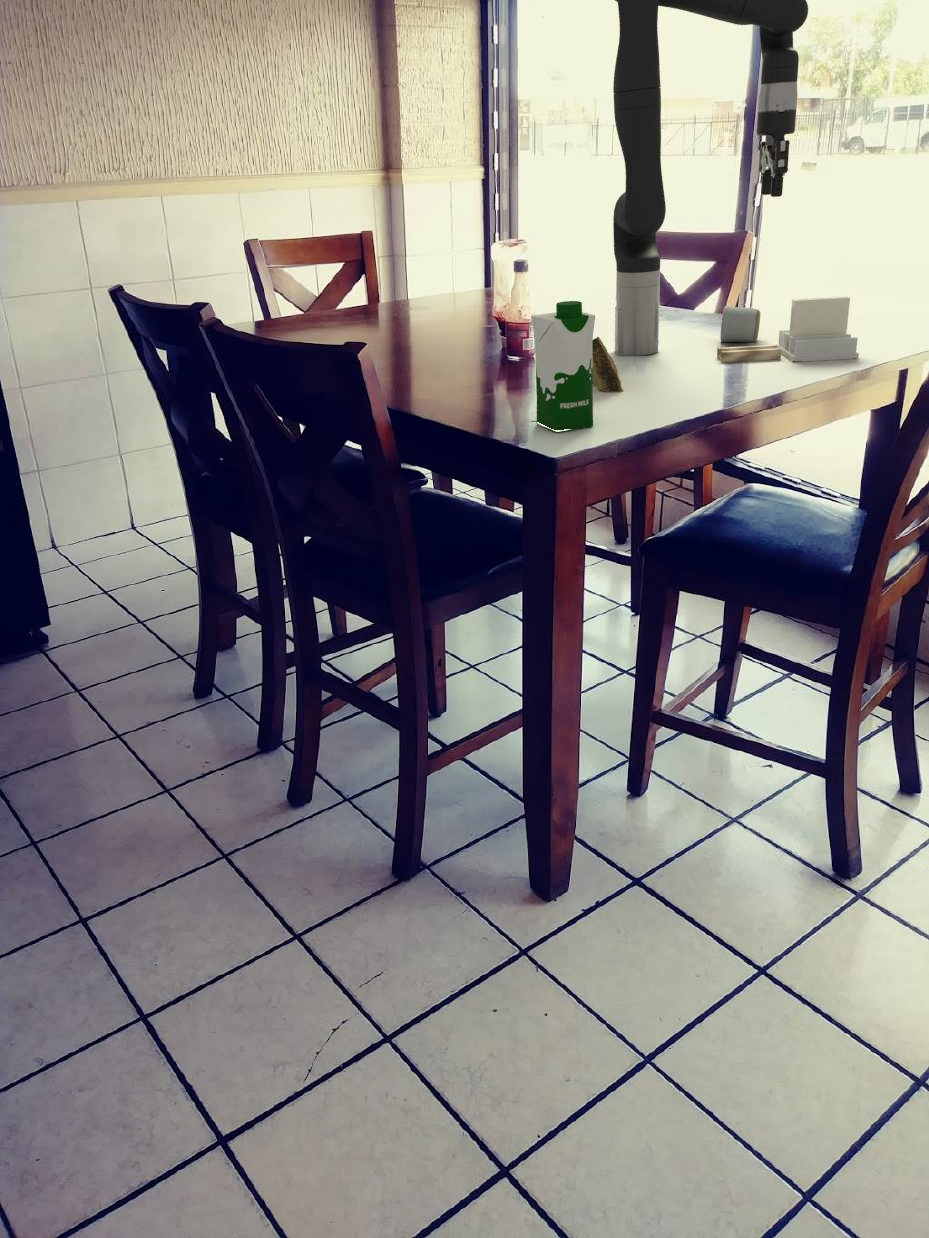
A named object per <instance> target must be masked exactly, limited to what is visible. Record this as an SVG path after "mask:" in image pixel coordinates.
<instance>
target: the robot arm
mask: <svg viewBox="0 0 929 1238" xmlns="http://www.w3.org/2000/svg"><path fill="white" fill-rule="evenodd" d="M614 2H616V3H617V8H618V9H617V10H618V17H619V18H618V19H619V20H618V21H619V37H618V46H617V54H616V59H615V66H614V74H613V75H614V76H613V89H612V91H613V113H614V115H613V116H614V121H615V128H616V132H617V137H618V140H619V141H618V142H619V145H620V148H621V151H622V156H623V160H624V167H625V191H624V192H623V193H621V195H620V196H619V197H618V198H617V200H616V203H615V205H614V210H613V223H612V224H613V226H612V227H613V252H614V255H613V256H614V258H615V263H616V282H615V283H616V286H615V287H616V288H615V289H616V290H615V291H616V296H615V297H616V299H615V300H616V302H615V303H616V304H615V305H616V306H615V307H614V308H615V309H614V351H615V353H616V355H618V356H645V355H646V356H647V355H653V354H655V353H657V352H659V334H660V333H659V331H660V329H659V327H660V293H661V292H660V291H661V288H660V287H661V284H660V283H661V256H660V253H659V251H658V247H657V232H658V231H659V230H660V229H661V227H662V226H663V224H664V221H665V218H666V214H667V213H666V212H667V211H666V210H667V208H666V206H667V205H666V197H665V191H664V190H665V189H664V180H663V174H662V173H663V172H662V160H661V159H662V158H661V153H662V121H661V120H662V119H661V118H662V114H661V113H662V90H661V89H662V88H661V86H662V85H661V71H660V69H661V68H660V50H659V49H660V47H659V37H658V35H659V34H658V16H659V15H658V14H659V7H664V8H669V9H676V10H682V11H685V12H688V13H691V14H692V13H693V14H695V15H700V16H702V17H703V16H704V17H707V18H710V19H714V20H717V21H721V22H725V23H730V24H732V25H733V24H734V25H737V26H750V25H751V26H752V25H753V26H757V27H759V42H760V52H761V56H762V57H761V58H762V65H761V76H760V88H759V89H760V90H759V94H758V102H757V103H758V105H757V118H756V119H757V120H756V135H757V136H758V137H764V136H765V137H766V138H765V140H763V141H761V143H760V153H759V155H760V156H759V166H758V171H759V173H760V176H761V187H760V194H761V195H762V196H769V195H770V196H771V197H772V198H776V197H777V198H778V197H782V195H783V188H784V187H783V186H784V177H785V176H786V174H787V173H788V171H789V156H790V155H789V154H790V153H789V151H790V145H791V144H790V140H789V139H787V140H786V139H785V136H786V135H792V134H794V133H795V131H796V119H797V106H798V77H799V64H800V63H799V62H800V61H799V60H800V59H799V52H798V51H797V50H795V49H794V32H797V31H798V30H799V29H800V28H802V26H803V25H804V24H805V22H806V20H807V17H808V14H809V5H808V2H807V0H614Z"/></svg>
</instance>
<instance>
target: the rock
mask: <svg viewBox="0 0 929 1238" xmlns="http://www.w3.org/2000/svg"><path fill="white" fill-rule="evenodd" d="M592 371H593V384H594V385H595V386H596V387H597V388H598V389H597V388H596V387H595V386H594V385H593V386H594V387H595V388H596V389H597V390H598V391H600V390H602V391H601V392H609V391H619V392H620V391H623V390H624V389H623V387H622V383H621V379H620V378H619V374H618V373H619V371H618V368H617V365H616V364H615V362H614V359H613V358H612V356H611V355H610V353H609V352H608V349H607V347H606V346H605V345H604V343H603V341H602V339H601V338H600V337H599V336H597V337H595V338H593V340H592ZM623 392H624V391H623Z"/></svg>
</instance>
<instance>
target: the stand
mask: <svg viewBox="0 0 929 1238" xmlns="http://www.w3.org/2000/svg"><path fill="white" fill-rule="evenodd" d="M716 349H717V350H716V359H720V362H721V363H728V362H729V363H731V362H733V363H734V362H735V363H736V362H752V361H767V360H768V361H769V360H770V361H771V360H781V358H782V354H781V348H777V346H776V344H768V345H767V344H766V345H765V344H763V345H762V344H761V345H747V346H746V345H745V346H744V345H743V346H729V347H728V346H726V347H717V348H716Z"/></svg>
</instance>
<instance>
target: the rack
mask: <svg viewBox="0 0 929 1238" xmlns="http://www.w3.org/2000/svg"><path fill="white" fill-rule="evenodd" d="M789 333H790V329H780V330H779V333H778V344H775V345H776V346H777V348H781V353H782V354H781V355H783V357H785V358H786V359H788V360H789V361H791V362H792V361H802V362H816V361H817V362H818V361H835V360H837V361H838V360H854V359H853V358H858V359H859V356H860V355H859V354H860V353H859V352H857V349H858V348H857V346H858V337H857V336H856V337H852V334H851V333H846V334H836V335H817V336H799V337H790V341H789ZM788 346H789V349H788Z"/></svg>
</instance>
